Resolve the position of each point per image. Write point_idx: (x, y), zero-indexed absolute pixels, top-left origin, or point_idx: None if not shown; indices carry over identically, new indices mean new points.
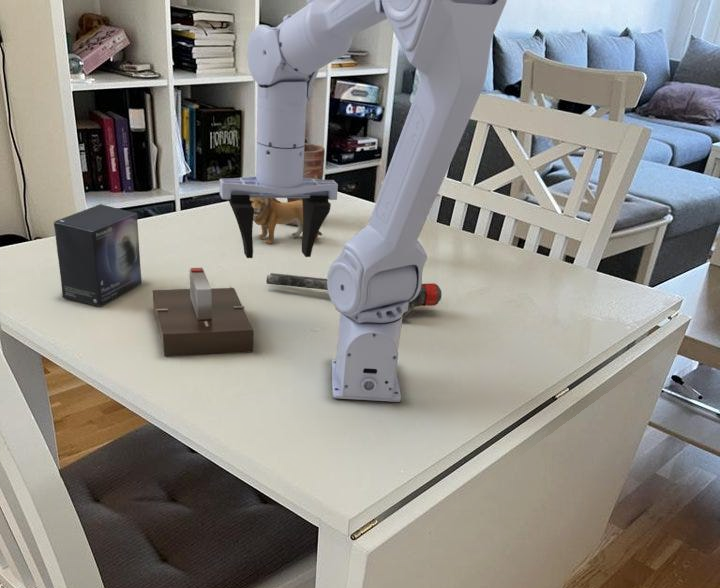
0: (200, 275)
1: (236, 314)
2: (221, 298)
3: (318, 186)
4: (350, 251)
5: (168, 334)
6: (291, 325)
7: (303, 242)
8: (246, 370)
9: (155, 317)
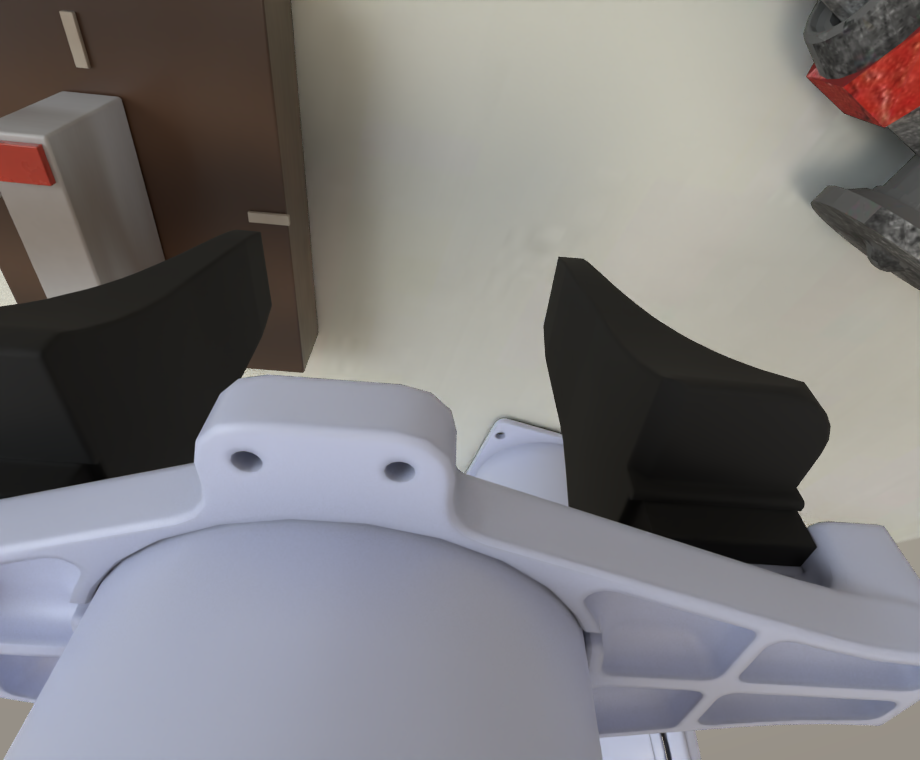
0: (51, 220)
1: None
2: (199, 110)
3: (670, 722)
4: None
5: None
6: (479, 190)
7: (562, 309)
8: None
9: None
